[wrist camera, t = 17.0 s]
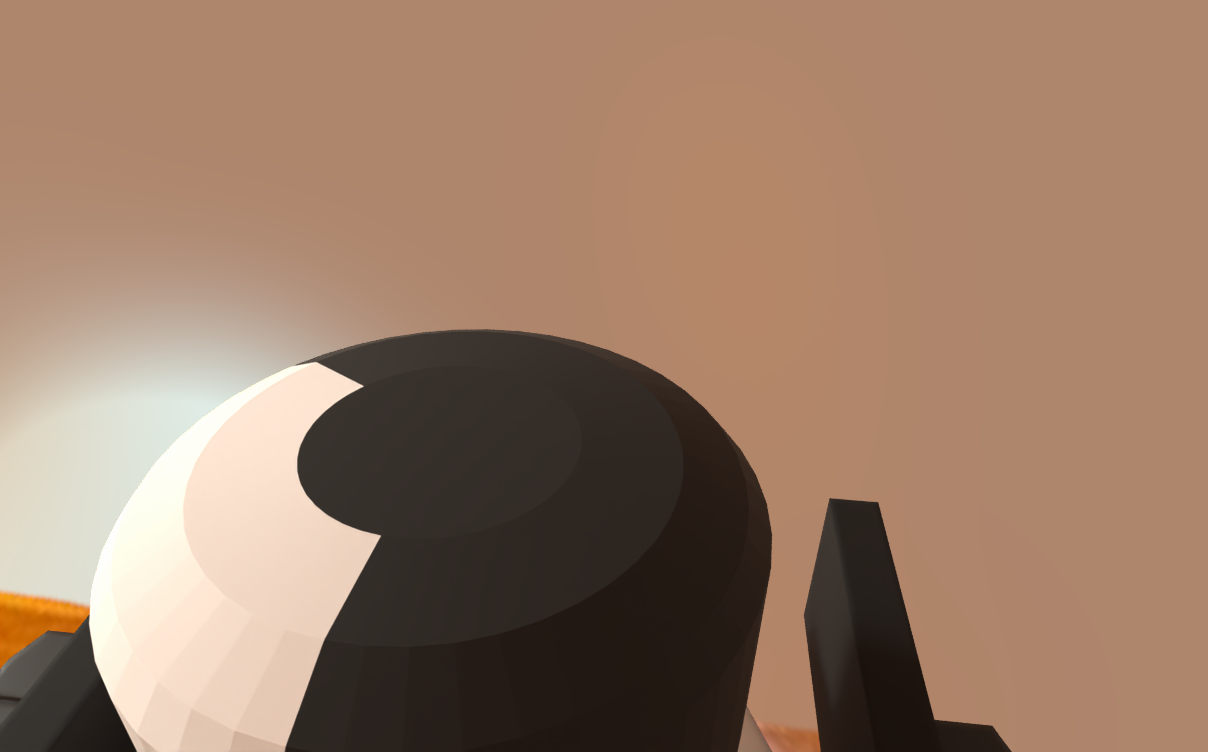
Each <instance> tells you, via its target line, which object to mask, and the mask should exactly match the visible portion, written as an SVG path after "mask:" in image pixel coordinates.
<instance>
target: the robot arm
mask: <svg viewBox="0 0 1208 752" xmlns="http://www.w3.org/2000/svg"><path fill="white" fill-rule="evenodd" d="M804 619H805V627H806V635H807V643H808V651H809V659H810V667H811V676H812V684H813V691H814V700H815V708H816V715H817V724H818V732H819V740H820V748H821V752H1011V750H1010V749H1009V748H1008V746H1007V745H1006V744H1005V742H1004V741H1003V740H1002V738H1001V737H1000V736H999V735H998V733H997V732H996V730H995V729H994V728H993V726H989V725H979V724H969V723H959V722H950V721H940V720H934V717H933V713H932V709H931V705H930V701H929V697H928V694H927V690H926V686H925V682H924V678H923V674H922V670H921V667H920V662H919V659H918V655H917V651H916V647H915V643H914V639H913V635H912V632H911V628H910V624H909V620H908V616H907V612H906V608H905V604H904V601H903V597H902V593H901V589H900V585H899V581H898V577H897V574H896V570H895V566H894V562H893V558H892V554H891V550H890V546H889V542H888V539H887V535H886V531H885V527H884V523H883V519H882V516H881V511H880V508H879V504H878V502H867V501H855V500H843V499H831V498H830V499H829V504H828V508H827V513H826V517H825V522H824V526H823V531H822V536H821V540H820V544H819V549H818V554H817V558H816V563H815V567H814V572H813V576H812V581H811V586H810V590H809V594H808V599H807V604H806V608H805V613H804ZM89 620H90V614H89V616H88V617H87V618H86V619H85V621H84V622H83V623H82V624H81V626H80V627H79V628H78V629H77V631H76V632H75V633H66V632H57V631H47V632H46V633H44V634H43V635H41V636H40V637H39V638H37V639H36V640H35V641H33V642H32V643H30V644H29V645H28V646H26V647H25V648H24V649H22V650H21V651H19V652H18V653H17V654H15V655H14V656H12V657H11V658H10V659H9V660H8V661H7V662H6V663H5V664H4V665H3V667H2V668H1V669H0V752H137V750H136V748H135V746H134V744H133V742H132V740H131V738H130V736H129V734H128V732H127V730H126V728H125V726H124V724H123V722H122V720H121V718H120V716H119V714H118V712H117V710H116V708H115V706H114V704H113V702H112V700H111V698H110V695H109V693H108V691H107V688H106V686H105V684H104V681H103V679H102V677H101V674H100V672H99V669H98V667H97V665H96V662H95V657H94V651H93V645H92V639H91V632H90V626H89Z"/></svg>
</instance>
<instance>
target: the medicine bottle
mask: <svg viewBox="0 0 1208 752" xmlns="http://www.w3.org/2000/svg"><path fill="white" fill-rule="evenodd" d="M771 546H772V532H771V526H770V521H769V514H768V509H767V503H766V500H765V498H764V495H763V493H762V490H761V487H760V485H759V482H758V479H757V477H756V474H755V473H754V471H753V469H752V468H751V466H750V465H749V463H748V461H747V460H746V458H745V456H744V454H743V453H742V451H741V449H740V448H739V447H738V446H737V445H736V444H735V442H734V441H733V440H732V439H731V437H730V436H729V435H728V434H727V433H726V432H725V430H724V429H723V428H722V427H721V426H720V425H719V423H718V422H717V421H716V420H715V419H714V418H713V417H712V416H711V415H710V414H709V412H708V411H707V410H706V409H705V408H704V407H703V406H702V405H701V404H699V403H698V402H697V401H696V400H695V399H694V398H693V397H691V396H690V395H689V394H688V393H687V392H686V391H685V390H683V389H682V388H680V387H679V386H677V385H676V384H675V383H673V382H672V381H670V380H668V379H667V378H666V377H664V376H663V375H661V374H659V373H658V372H656V371H654V370H652V369H650V368H648V367H646V366H644V365H642V364H640V363H638V362H637V361H634V360H632V359H629V358H627V357H624V356H621V355H619V354H617V353H614V352H612V351H609V350H606V349H603V348H600V347H596V346H593V345H590V344H586V343H583V342H579V341H575V340H569V339H565V338H560V337H555V336H551V335H543V334H536V333H529V332H520V331H504V330H488V329H486V330H448V331H436V332H423V333H416V334H410V335H403V336H397V337H390V338H385V339H380V340H376V341H371V342H367V343H362V344H358V345H354V346H351V347H347V348H344V349H340V350H337V351H334V352H330V353H327V354H324V355H321V356H318V357H316V358H313V359H310V360H308V361H305V362H302V363H299V364H297V365H294V366H292V367H289V368H287V369H285V370H283V371H281V372H279V373H277V374H274V375H272V376H270V377H268V378H266V379H264V380H261V381H260V382H258V383H256V384H254V385H253V386H251V387H249V388H248V389H246V390H244V391H242V392H240V393H239V394H237V395H235V396H233V397H232V398H230V399H228V400H227V401H226V402H224V403H223V404H221V405H220V406H218V407H217V408H216V409H214V410H213V411H211V412H210V413H208V414H207V415H206V416H204V417H203V418H202V419H200V420H199V421H198V422H197V423H196V424H195V425H193V426H192V427H191V428H190V429H189V430H188V431H187V432H185V433H184V434H183V435H182V436H181V437H179V438H178V439H177V440H176V441H175V442H174V443H173V444H172V445H171V447H170V448H169V449H168V450H167V451H166V452H165V453H164V454H163V455H162V456H161V458H160V459H159V460H158V461H157V462H156V463H155V464H154V465H153V467H152V468H151V470H150V471H149V472H148V474H147V476H146V477H145V478H144V480H143V481H142V483H141V484H140V485H139V487H138V488H137V490H136V491H135V493H134V494H133V496H132V498H131V499H130V501H129V502H128V504H127V505H126V507H125V508H124V510H123V512H122V513H121V515H120V516H119V518H118V520H117V522H116V524H115V526H114V528H113V530H112V532H111V534H110V536H109V538H108V540H107V542H106V544H105V546H104V548H103V550H102V553H101V557H100V560H99V563H98V567H97V570H96V574H95V578H94V581H93V585H92V590H91V591H92V592H91V605H90V620H89V626H90V632H91V639H92V645H93V651H94V657H95V662H96V665H97V667H98V669H99V672H100V674H101V677H102V679H103V681H104V684H105V686H106V688H107V691H108V693H109V695H110V698H111V700H112V702H113V704H114V706H115V708H116V710H117V712H118V714H119V716H120V718H121V720H122V722H123V724H124V726H125V728H126V730H127V732H128V734H129V736H130V738H131V740H132V742H133V744H134V746H135V748H136V750H137V752H772V751H771V749H770V747H769V745H768V744H767V742H766V740H765V738H764V736H763V735H762V733H761V731H760V729H759V727H758V726H757V724H756V722H755V720H754V718H753V717H752V715H751V713H750V711H749V709H748V708H747V706H746V705H747V699H748V694H749V688H750V682H751V676H752V671H753V665H754V659H755V654H756V649H757V643H758V637H759V632H760V626H761V621H762V615H763V609H764V603H765V598H766V593H767V587H768V581H769V576H770V570H771V549H772V547H771Z"/></svg>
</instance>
